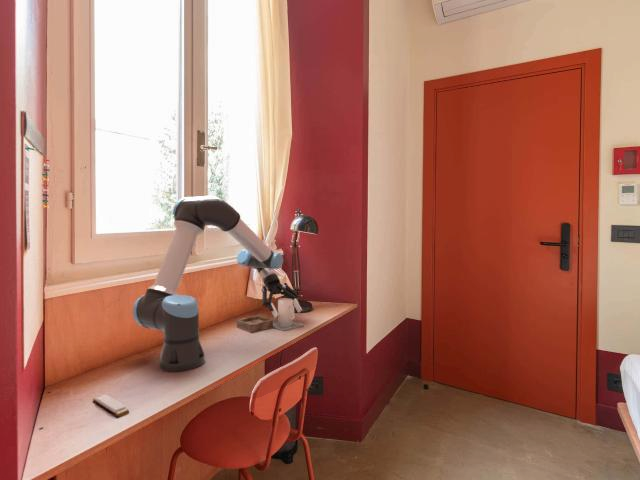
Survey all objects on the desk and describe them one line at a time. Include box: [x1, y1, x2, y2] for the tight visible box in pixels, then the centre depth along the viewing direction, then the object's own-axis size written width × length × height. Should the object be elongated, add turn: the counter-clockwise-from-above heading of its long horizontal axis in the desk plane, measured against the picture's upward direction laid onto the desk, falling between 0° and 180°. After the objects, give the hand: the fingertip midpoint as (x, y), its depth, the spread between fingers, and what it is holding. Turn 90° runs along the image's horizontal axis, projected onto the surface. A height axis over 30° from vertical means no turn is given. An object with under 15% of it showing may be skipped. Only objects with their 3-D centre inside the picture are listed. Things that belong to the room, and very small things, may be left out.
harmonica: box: [92, 394, 130, 419], centre depth 103 cm, size 15×3×2 cm, turn 53°
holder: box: [236, 314, 274, 334], centre depth 176 cm, size 12×12×4 cm
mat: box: [272, 321, 304, 332], centre depth 178 cm, size 12×12×1 cm
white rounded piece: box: [277, 297, 295, 327], centre depth 177 cm, size 7×10×12 cm
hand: (288, 313), depth 176 cm, fingers open, 13 cm apart
